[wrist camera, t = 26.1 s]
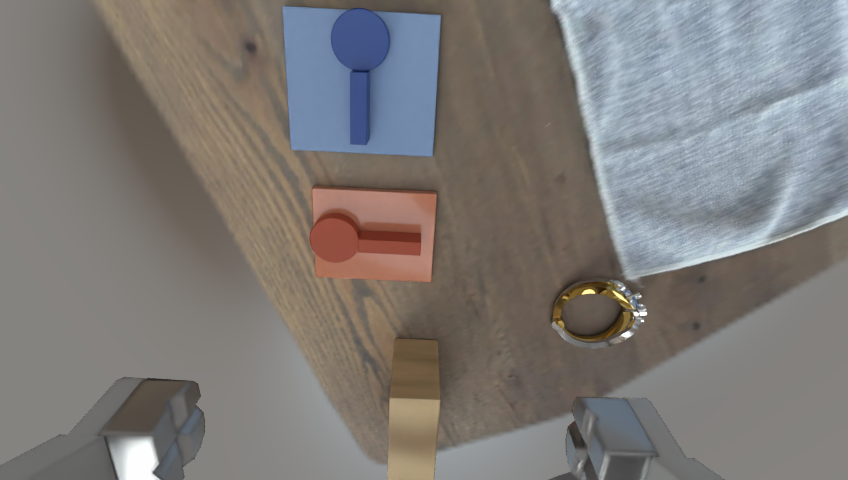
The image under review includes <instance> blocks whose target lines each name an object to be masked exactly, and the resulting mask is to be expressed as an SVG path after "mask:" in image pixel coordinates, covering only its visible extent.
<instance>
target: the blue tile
mask: <svg viewBox="0 0 848 480" xmlns="http://www.w3.org/2000/svg"><path fill="white" fill-rule="evenodd" d="M282 11H283V27H284V44H285V60H286V77H287V93H288V109H289V126H290V142H291V149H292V150H308V151H328V152H348V153H368V154H388V155H408V156H428V157H432V156H433V146H434V129H435V112H436V95H437V78H438V60H439V43H440V26H441V15H436V14H418V13H400V12H382V11H372V12H374V13H375V14H377V15H378V16H379V17H380V18H381V19H382V20H383V21H384V22H385V24H386V26H387V28H388V30H389V34H390V48H389V52H388V54H387V56H386V58H385V60H384V61H383V62H382V63H381V64H380V65H379V66H377V67H376V68H374V69H372V70H369V71H370V139H369V141H368V143H367V145H352V144H350V72H351V71H353V70H352V69H349V68H347V67H346V66H344V65H343V64H342V63H341V62H340V61H339V60H338V58H337V57H336V55H335V53H334V51H333V48H332V44H331V32H332V28H333V25H334V23H335V21H336V20H337V19H338V17H339V16H340V15H341V14H343V13H344V12H346V11H348V10H347V9H329V8H311V7H293V6H283V7H282Z"/></svg>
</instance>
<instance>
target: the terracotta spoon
mask: <svg viewBox="0 0 848 480" xmlns="http://www.w3.org/2000/svg"><path fill="white" fill-rule="evenodd" d="M310 244H311V247H312V249H313V251H314V252H315V253H316V254H317V256H319V257H320V258H321V259H323V260H325V261H328V262H332V263H340V262H344V261H347V260H349V259H350V258H352V257H353V256H354V255H355V253H356V252H357V250H358V253H376V254H396V255H417V256H420V252H421V233H407V232H387V231H367V230H361V232H360V230H359V227H358V226H357V224H356V223H355V222H354V221H353V220H352V219H351V218H350V217H348V216H346V215H344V214H340V213H330V214H326V215H324V216H322V217H321V218H319V219H318V220H317V222H316V223H315V225H314V226H313V228H312V230H311V233H310Z"/></svg>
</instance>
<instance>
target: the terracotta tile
mask: <svg viewBox="0 0 848 480" xmlns="http://www.w3.org/2000/svg"><path fill="white" fill-rule="evenodd" d="M436 200H437V192H436V191H416V190H396V189H375V188H354V187H334V186H313V188H312V201H313V223H314V225H315V223H316V222H317V220H318V219H319V218H321V217H322V216H324V215H326V214H330V213H340V214H344V215H346V216H348V217H350V218H351V219H352V220H353V221H354V222H355V223H356V224H357V226H358V227H359V230H360V232H361V230H367V231H387V232H407V233H421V252H420V256H417V255H396V254H376V253H358V250H357V252H356V253H355V255H354V256H353V257H352V258H350V259H349V260H347V261H344V262H340V263H332V262H328V261H325V260H323V259H321V258H320V257H319V256H317V254H316V253H315V268H316V277H330V278H352V279H374V280H397V281H419V282H431V278H432V263H433V247H434V232H435V216H436Z"/></svg>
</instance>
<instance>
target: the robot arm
mask: <svg viewBox="0 0 848 480" xmlns="http://www.w3.org/2000/svg"><path fill="white" fill-rule="evenodd" d="M200 397H201V395H200V390H199V386H198V383H196V382H194V381H186V380H170V379H169V380H168V379H155V378H154V379H153V378H147V379H145V378H132V377H124V378H121V379H118V380H117V381H116V382H115V383H114V384H113V385H112V386H111V387H110V388H109V389H108V390H107V391H106V393H105V394H104V395H103V396H102V397H101V398H100V399H99V400H98V401H97V403H96V404H95V405H94V406H93V407H92V408H91V409H90V410H89V411H88V413H87V414H86V415H85V416H84V417H83V418H82V419H81V420H80V422H79V423H78V424H77V425H76V426H75V427H74V428H73V429H72V430H71V431H70V433H69V434H68V435H61V434H60V435H58V436H56V437H54V438H52V439H50V440H48V441H46V442H44V443H42V444H40V445H38V446H37V447H35V448H33V449H31V450H29V451H27V452H25V453H24V454H21V455H20V456H17V457H15V458H13V459H12V460H10V461H8V462H6V463H4V464H2V465H0V480H183V479H184V472H183V467H184V466H185V465H186V464H188V463H189V462H191V461H192V460H193V459H195V457H196V455H197V453H198V451H199V449H200V447H201V444H202V440H203V436H204V432H205V418H204V413H203V412H202V410H201V409H200V408H199V407H197V405H196V403H197V401H198V400H199V398H200ZM572 413H573V416H574V418H575V421H574V422H573V423H572V424H570V425H569V426H568V429H567V434H566V455H567V460H568V464H569V467H570V470H571V473H572V474H573V475H574V476H576V477H577V478H578V479H579V480H724V479H723V478H721V477H720V476H719V475H717V474H716V473H714V472H713V471H711V470H710V469H709V468H707V467H706V466H704V465H703V464H701V463H700V462H698V461H697V460H695V459H694V458H686V456H685V454H684V453H683V451H682V450H681V448H680V447H679V445H678V443H677V442H676V440H675V439H674V437H673V436H672V434H671V433H670V431H669V429H668V428H667V426H666V425H665V423H664V421H663V420H662V418H661V417H660V415H659V414H658V412H657V410H656V409H655V407H654V406H653V404H652V403H651V402H650V401H649V400H648V399H647V398H608V397H578V396H577V397H576V399H575V400H574V402H573V406H572Z"/></svg>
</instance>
